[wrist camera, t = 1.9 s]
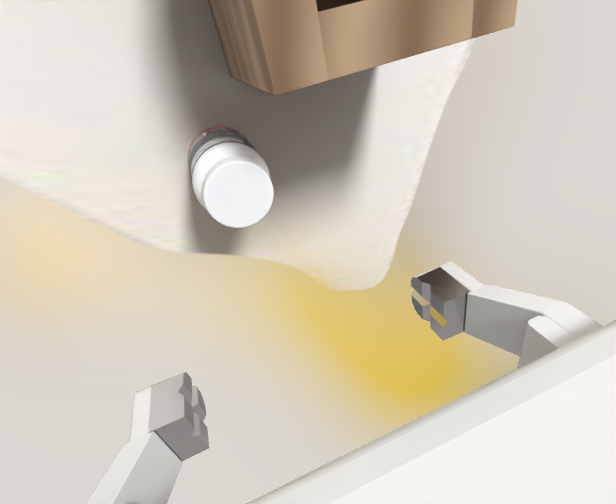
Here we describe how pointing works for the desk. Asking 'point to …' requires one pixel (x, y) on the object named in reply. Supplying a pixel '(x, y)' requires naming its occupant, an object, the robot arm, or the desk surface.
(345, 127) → the desk surface
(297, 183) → the desk surface
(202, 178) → the pill bottle
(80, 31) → the desk surface
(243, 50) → the slot box
